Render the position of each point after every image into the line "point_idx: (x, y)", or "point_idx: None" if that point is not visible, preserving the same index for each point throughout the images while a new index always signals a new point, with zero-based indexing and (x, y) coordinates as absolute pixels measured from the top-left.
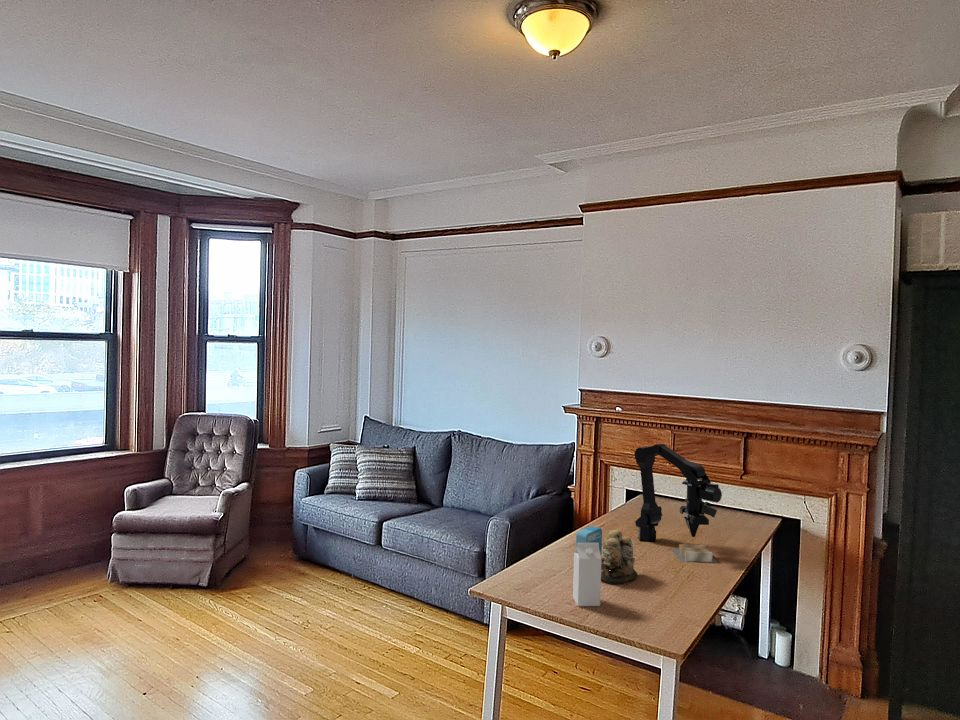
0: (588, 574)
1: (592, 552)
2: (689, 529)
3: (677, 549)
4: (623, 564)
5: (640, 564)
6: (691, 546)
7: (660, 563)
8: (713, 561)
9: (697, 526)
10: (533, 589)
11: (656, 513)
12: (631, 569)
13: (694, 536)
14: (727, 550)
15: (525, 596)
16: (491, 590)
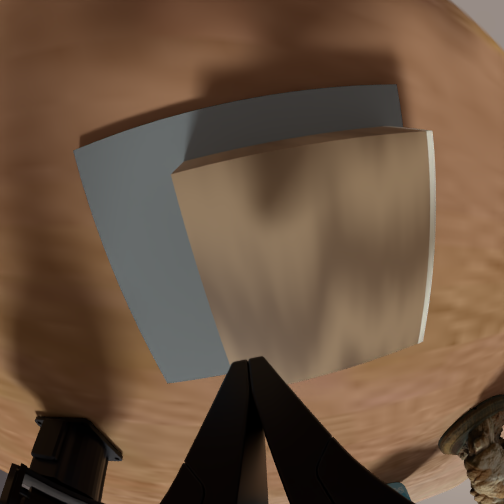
0: None
1: None
2: (264, 481)
3: (154, 351)
4: (496, 439)
5: (405, 428)
6: (277, 314)
7: (400, 390)
8: (378, 113)
9: (377, 492)
10: None
11: None
12: (498, 420)
13: (266, 364)
14: (15, 12)
15: None
16: (465, 479)
